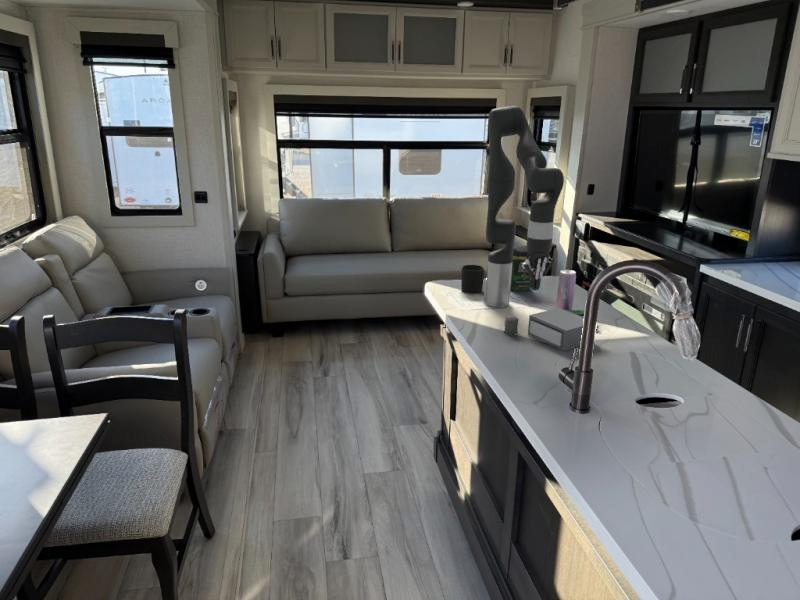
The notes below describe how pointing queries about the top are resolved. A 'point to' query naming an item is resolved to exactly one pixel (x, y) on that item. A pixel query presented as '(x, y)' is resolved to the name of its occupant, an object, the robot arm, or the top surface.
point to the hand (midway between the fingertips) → (534, 289)
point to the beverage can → (566, 289)
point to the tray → (546, 333)
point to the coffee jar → (519, 270)
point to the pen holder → (472, 279)
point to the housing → (560, 326)
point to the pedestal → (511, 325)
